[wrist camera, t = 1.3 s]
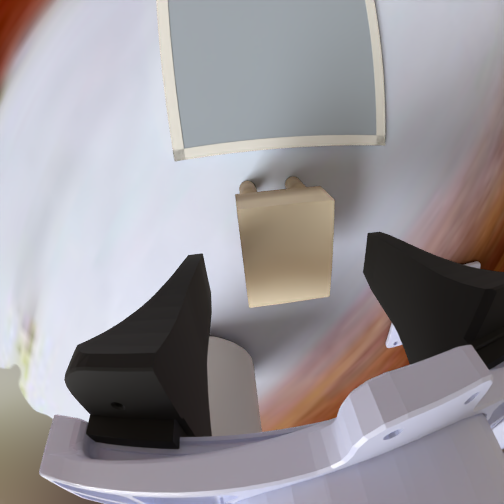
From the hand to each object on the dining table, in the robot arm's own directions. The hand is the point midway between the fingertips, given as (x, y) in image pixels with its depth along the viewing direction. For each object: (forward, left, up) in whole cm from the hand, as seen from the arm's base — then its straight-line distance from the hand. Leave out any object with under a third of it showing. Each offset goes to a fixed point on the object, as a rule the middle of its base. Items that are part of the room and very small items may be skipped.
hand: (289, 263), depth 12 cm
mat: (-1, -10, -6) cm, 11 cm away
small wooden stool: (0, 0, -6) cm, 6 cm away
